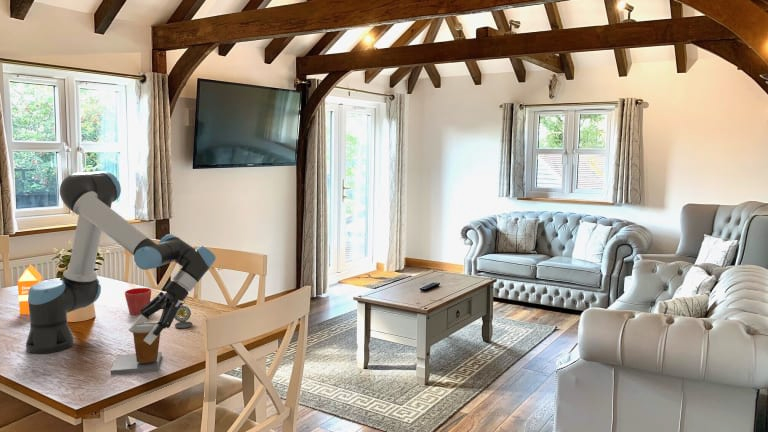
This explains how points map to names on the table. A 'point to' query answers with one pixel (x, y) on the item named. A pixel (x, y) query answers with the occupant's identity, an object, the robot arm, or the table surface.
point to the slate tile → (133, 365)
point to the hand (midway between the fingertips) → (138, 337)
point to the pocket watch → (182, 312)
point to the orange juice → (27, 287)
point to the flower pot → (137, 299)
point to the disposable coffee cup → (141, 347)
